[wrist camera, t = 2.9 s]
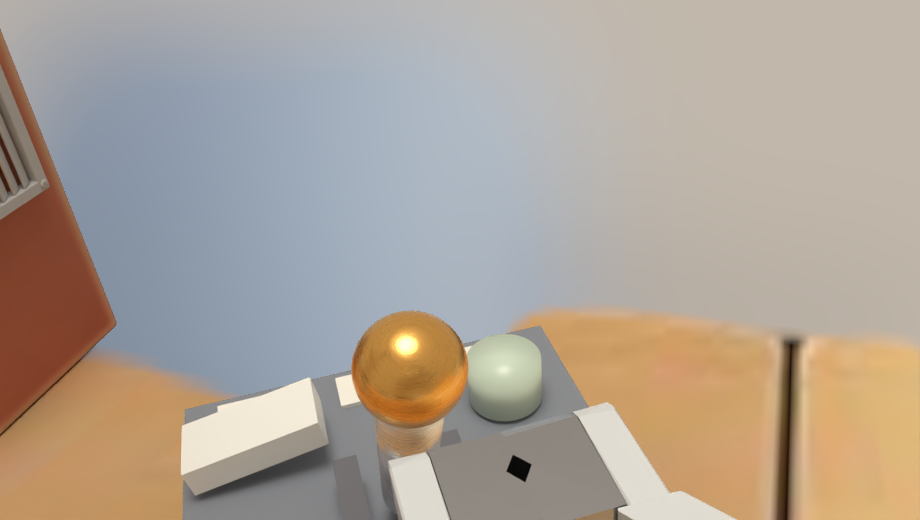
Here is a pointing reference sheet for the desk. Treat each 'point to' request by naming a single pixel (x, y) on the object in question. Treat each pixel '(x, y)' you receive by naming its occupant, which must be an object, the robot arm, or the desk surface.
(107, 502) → the desk surface
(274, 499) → the console
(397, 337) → the lever
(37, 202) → the orange box
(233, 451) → the block
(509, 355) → the button
